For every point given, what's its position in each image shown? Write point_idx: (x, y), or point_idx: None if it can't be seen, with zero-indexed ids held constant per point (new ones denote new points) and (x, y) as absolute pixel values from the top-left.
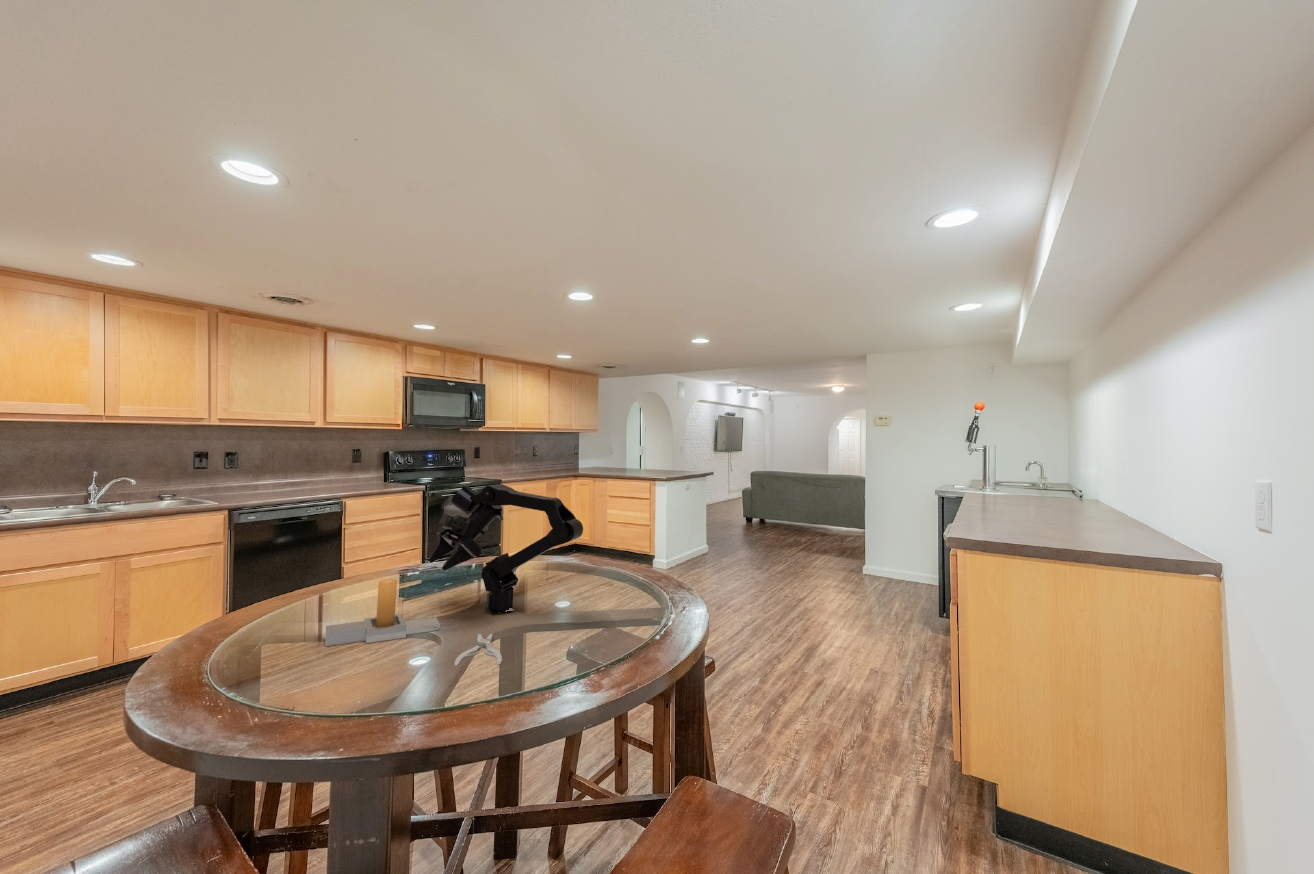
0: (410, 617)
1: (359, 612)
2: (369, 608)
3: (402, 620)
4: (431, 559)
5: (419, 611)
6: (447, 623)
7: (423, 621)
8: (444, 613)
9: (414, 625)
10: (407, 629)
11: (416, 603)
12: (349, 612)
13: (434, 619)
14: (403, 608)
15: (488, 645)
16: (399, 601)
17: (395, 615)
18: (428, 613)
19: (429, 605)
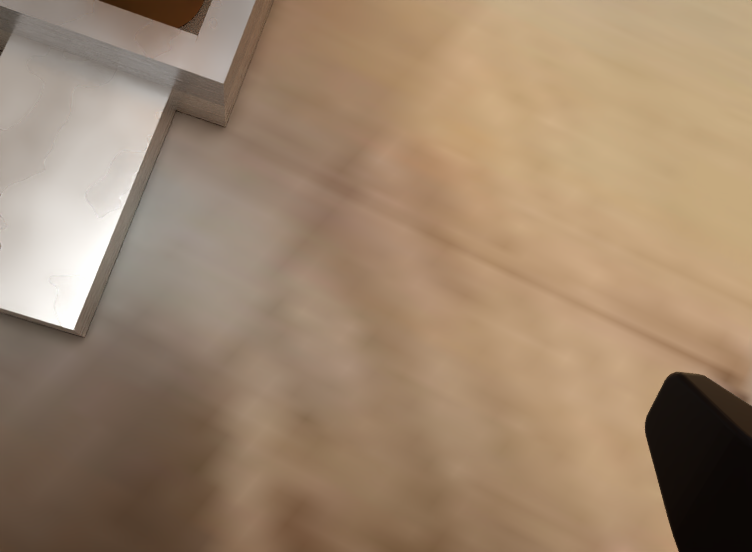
0: (347, 253)
1: (646, 59)
2: (690, 136)
3: (66, 13)
4: (685, 421)
5: (434, 367)
6: (8, 410)
7: (62, 205)
8: (257, 509)
9: (26, 111)
10: (7, 51)
11: (628, 435)
12: (677, 20)
13: (35, 293)
14: (569, 305)
15: None
16: (736, 354)
17: (223, 33)
18: (345, 400)
19: (525, 499)
